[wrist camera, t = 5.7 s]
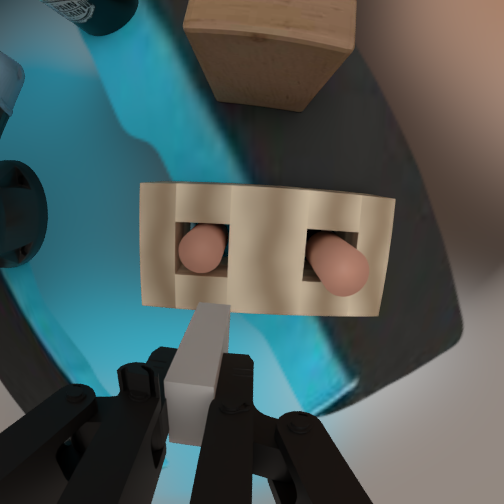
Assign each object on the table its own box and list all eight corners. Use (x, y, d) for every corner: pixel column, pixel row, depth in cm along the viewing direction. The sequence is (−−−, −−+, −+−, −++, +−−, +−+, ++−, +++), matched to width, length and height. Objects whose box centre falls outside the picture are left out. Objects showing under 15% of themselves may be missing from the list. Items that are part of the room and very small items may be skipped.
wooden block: (302, 113, 34) (356, 52, 15) (215, 102, 34) (179, 29, 15) (311, 39, 32) (358, -59, 13) (228, 28, 32) (210, -79, 12)
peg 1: (193, 252, 37) (178, 271, 29) (193, 217, 36) (178, 228, 29) (227, 253, 37) (221, 274, 30) (229, 219, 36) (223, 230, 29)
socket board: (161, 280, 39) (142, 305, 31) (162, 181, 36) (140, 182, 28) (355, 290, 39) (378, 316, 31) (367, 193, 37) (395, 199, 29)
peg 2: (303, 268, 33) (318, 296, 25) (306, 229, 32) (324, 246, 24) (340, 270, 33) (365, 297, 25) (344, 232, 32) (372, 249, 25)
